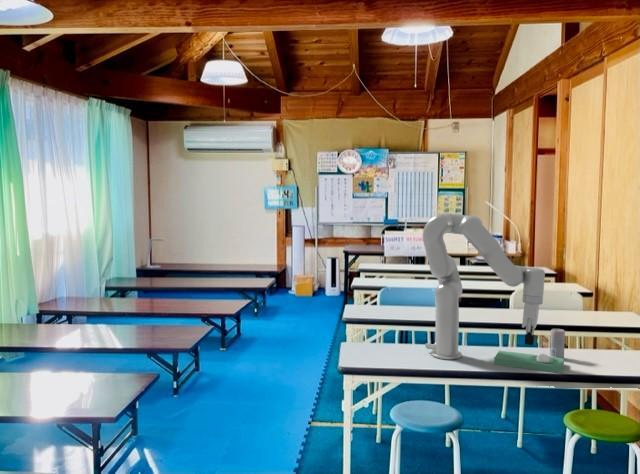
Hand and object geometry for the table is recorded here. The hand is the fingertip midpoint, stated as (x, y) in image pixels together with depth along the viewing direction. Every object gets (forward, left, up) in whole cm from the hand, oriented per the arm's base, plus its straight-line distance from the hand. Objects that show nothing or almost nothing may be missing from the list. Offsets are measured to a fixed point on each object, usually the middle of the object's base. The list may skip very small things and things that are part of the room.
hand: (529, 344), depth 219 cm
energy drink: (+10, +15, -9) cm, 20 cm away
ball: (+5, 0, -6) cm, 8 cm away
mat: (0, +1, -8) cm, 8 cm away
